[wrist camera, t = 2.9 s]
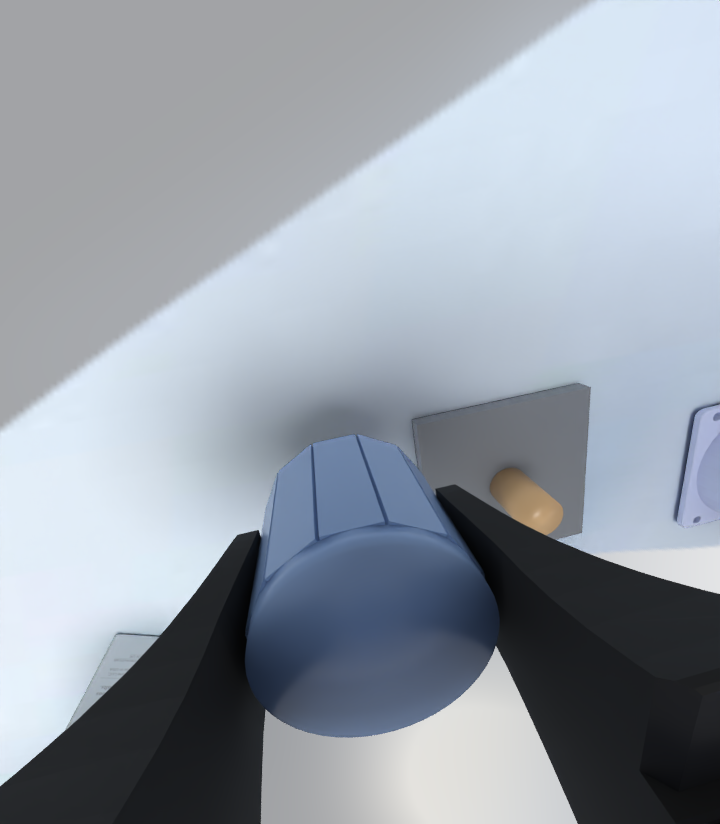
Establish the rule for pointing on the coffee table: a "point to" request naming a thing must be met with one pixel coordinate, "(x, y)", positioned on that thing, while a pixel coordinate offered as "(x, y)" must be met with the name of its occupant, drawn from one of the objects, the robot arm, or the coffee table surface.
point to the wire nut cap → (363, 595)
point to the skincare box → (113, 668)
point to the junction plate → (514, 456)
